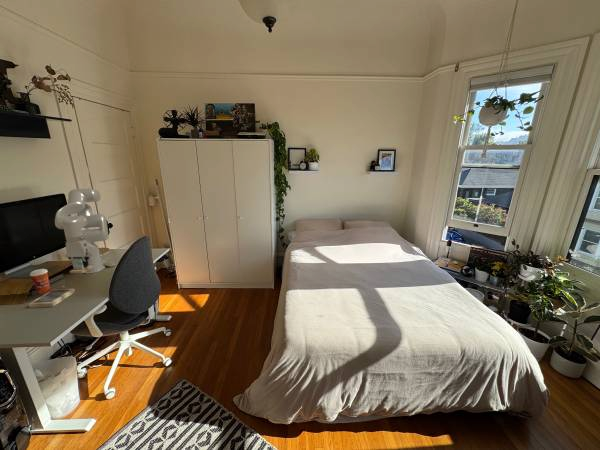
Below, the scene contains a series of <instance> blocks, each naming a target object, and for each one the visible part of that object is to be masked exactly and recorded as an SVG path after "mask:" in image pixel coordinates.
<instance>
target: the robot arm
mask: <svg viewBox="0 0 600 450" xmlns="http://www.w3.org/2000/svg"><path fill="white" fill-rule="evenodd" d="M100 200H101V193H100V191H99V190H97V189H95V188H75V189H72V190H70V191H69V192H68V198H67V204H66V205H63V207H60V209H58V210H57V211H56V213H55V218H54V225H55V227H56V228H57V229H58V230H63V232H64V236H65V240H66V241H65V251H66V253H65V255H64V257H65V258H66V259H68V260H70V262H71V263H72V259H73V258H75V257H82V259H83V266H84V267H87V266H88V265H93V267H92V268H90V269H89V270H87V271H86V272H84V273H83V274H95V273H99V272H101V270H102V271H103V269H104V268H106V266H105V264H104V263H106V260H102V258H101V253H100V249H99V245H97V244H96V242H98V243H99V242H105V241H108V239H109V228H108V222H107V217H106V216H105V215H104V214H101V213H98V214H93V208H92V206H90V205H89V204H88V203H96V202H99V201H100ZM75 214H76V215H75ZM103 264H104V265H103ZM104 270H105V269H104Z"/></svg>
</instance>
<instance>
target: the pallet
mask: <svg viewBox="0 0 600 450" xmlns="http://www.w3.org/2000/svg"><path fill="white" fill-rule="evenodd" d="M71 263H72V267H73V269H71V270H69V274H85V273H84V272H86V271H87V270H89V269H90V268H92V267H93V265H88V266H87V267H84V266H83V259H82V257H75V258H73V259H72V262H71Z"/></svg>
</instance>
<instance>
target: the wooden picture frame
mask: <svg viewBox="0 0 600 450" xmlns="http://www.w3.org/2000/svg"><path fill="white" fill-rule="evenodd" d="M75 292H76V291H75V288H64V289H63V288H58V289H57V288H56V289H50V291H48V292H46V293H44V294H43V295H41V296H39V297H38V298H36V299H35V300H33V301H30V303H28V308H33V309H34V308H49V307H50V308H51V307H52V308H53V307H54V306H56V305H57V304H60V303H61V302H62V301H64V300H65V299H67V298H68V297H70V296H71V295H73V294H74V293H75Z"/></svg>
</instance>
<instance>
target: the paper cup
mask: <svg viewBox="0 0 600 450" xmlns="http://www.w3.org/2000/svg"><path fill="white" fill-rule="evenodd" d="M48 272H49V271H48V269H46V268H39V269H35V270H32V271H31V272H30V273H29V276H30V277H31V280H32V283H33V282H35V284H34V283H33V285H34V289H35V290H36V293H37V294H39V295H41V294H46V293H48V292H50V291H51V286H50V285H51V284H50V280H49V275H48Z"/></svg>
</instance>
